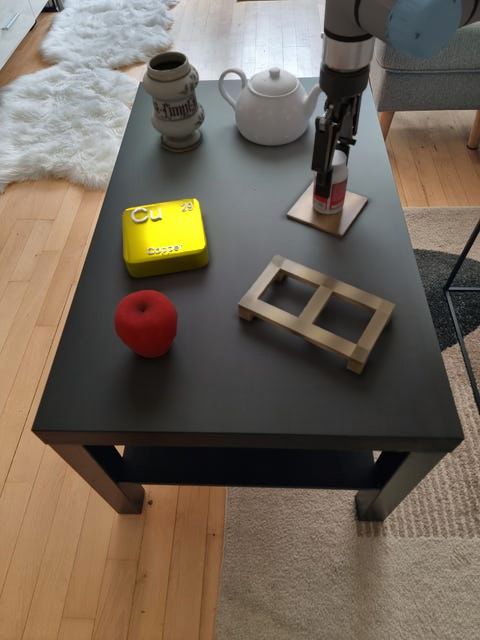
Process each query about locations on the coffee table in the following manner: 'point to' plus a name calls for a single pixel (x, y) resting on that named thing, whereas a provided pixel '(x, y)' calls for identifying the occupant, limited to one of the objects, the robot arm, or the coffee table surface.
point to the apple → (146, 322)
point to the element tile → (164, 238)
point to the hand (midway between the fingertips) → (330, 185)
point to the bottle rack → (318, 310)
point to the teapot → (271, 105)
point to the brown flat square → (327, 222)
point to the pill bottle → (333, 187)
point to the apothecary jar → (174, 100)
